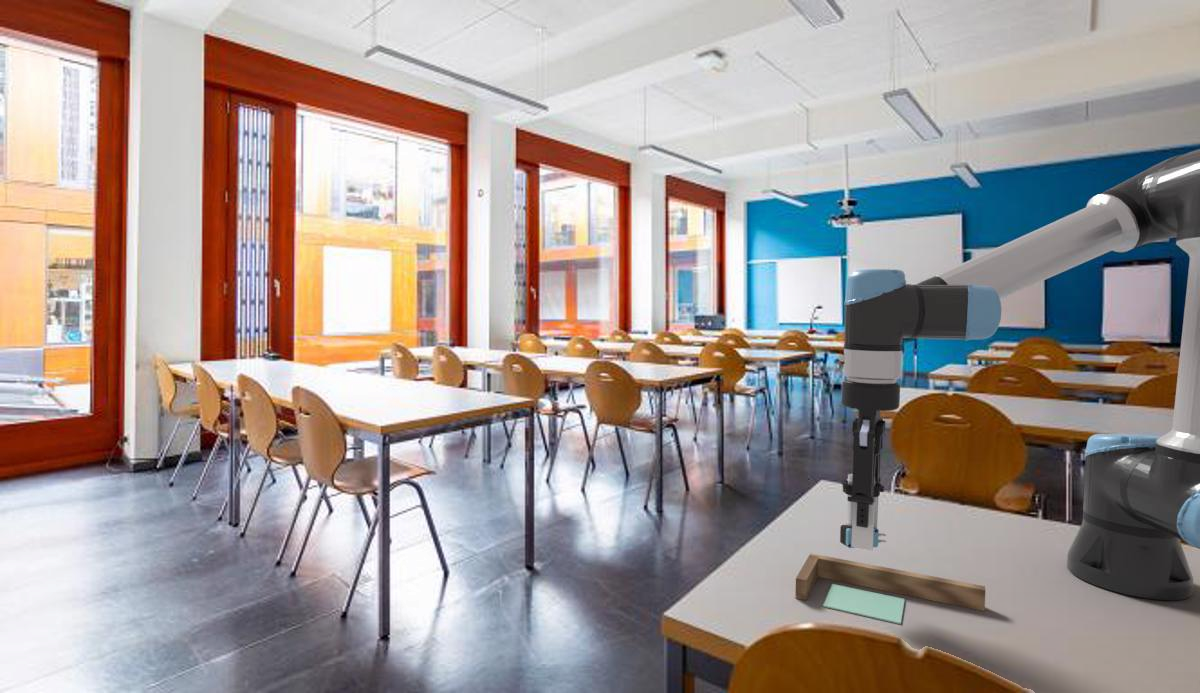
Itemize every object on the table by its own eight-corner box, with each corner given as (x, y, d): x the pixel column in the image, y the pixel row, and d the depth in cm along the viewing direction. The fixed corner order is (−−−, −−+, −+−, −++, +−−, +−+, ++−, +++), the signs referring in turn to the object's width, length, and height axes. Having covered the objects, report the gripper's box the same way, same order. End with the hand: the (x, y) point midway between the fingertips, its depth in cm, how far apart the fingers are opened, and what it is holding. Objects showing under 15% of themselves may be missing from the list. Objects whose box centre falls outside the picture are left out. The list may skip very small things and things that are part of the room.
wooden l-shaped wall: (984, 606, 89) (984, 586, 89) (987, 641, 79) (988, 618, 79) (809, 571, 101) (810, 553, 100) (795, 598, 91) (795, 578, 91)
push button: (875, 539, 92) (876, 471, 92) (896, 551, 87) (898, 480, 87) (832, 540, 91) (834, 472, 91) (852, 552, 86) (854, 480, 86)
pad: (904, 600, 91) (904, 598, 91) (900, 624, 84) (900, 622, 84) (832, 585, 96) (832, 583, 96) (823, 606, 89) (823, 605, 89)
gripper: (851, 372, 97) (845, 519, 99) (832, 384, 82) (826, 557, 83) (904, 376, 94) (897, 527, 95) (895, 388, 78) (887, 569, 80)
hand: (864, 541), depth 89 cm, fingers closed on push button, 5 cm apart
